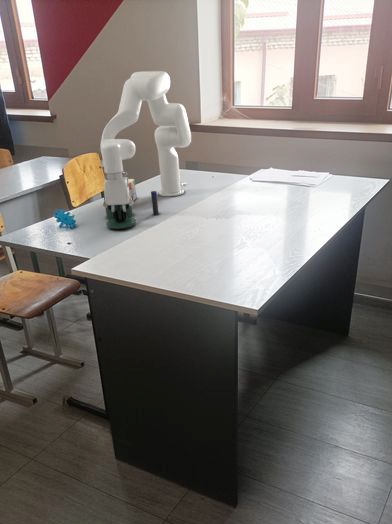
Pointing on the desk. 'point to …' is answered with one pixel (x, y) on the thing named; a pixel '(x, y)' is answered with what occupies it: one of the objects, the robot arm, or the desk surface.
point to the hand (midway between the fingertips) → (120, 220)
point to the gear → (65, 219)
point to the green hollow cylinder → (110, 213)
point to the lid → (120, 221)
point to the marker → (154, 202)
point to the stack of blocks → (132, 188)
